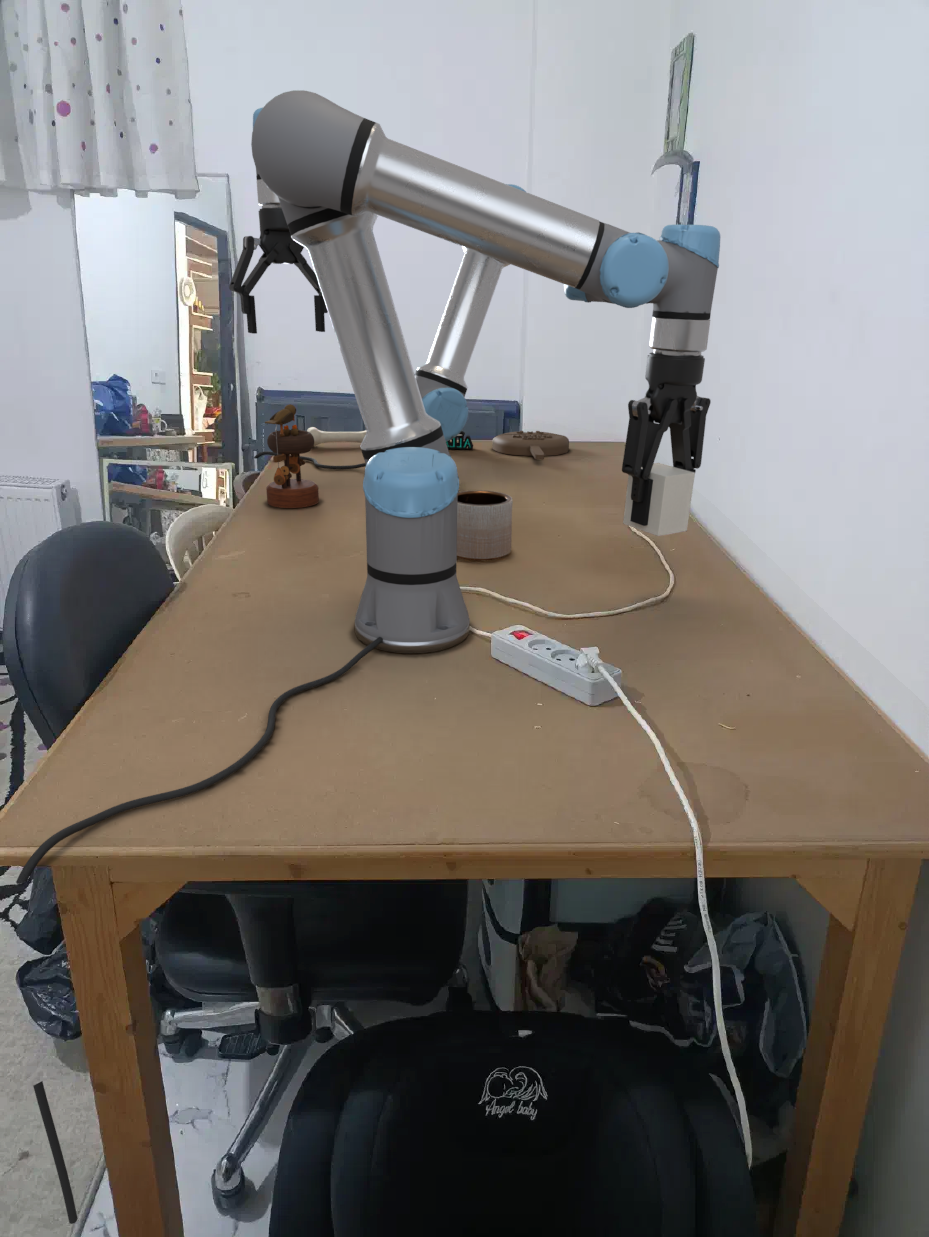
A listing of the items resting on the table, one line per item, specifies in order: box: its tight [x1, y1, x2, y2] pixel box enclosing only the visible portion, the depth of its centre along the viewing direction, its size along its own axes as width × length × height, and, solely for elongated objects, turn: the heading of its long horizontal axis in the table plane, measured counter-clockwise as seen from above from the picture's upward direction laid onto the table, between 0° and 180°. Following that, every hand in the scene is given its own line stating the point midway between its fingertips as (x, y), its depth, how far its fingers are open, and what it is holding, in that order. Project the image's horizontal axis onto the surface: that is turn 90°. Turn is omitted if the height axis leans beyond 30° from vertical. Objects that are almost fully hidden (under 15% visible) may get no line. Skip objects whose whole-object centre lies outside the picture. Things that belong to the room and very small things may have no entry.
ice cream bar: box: [491, 430, 570, 461], centre depth 224 cm, size 21×28×4 cm
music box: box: [264, 403, 320, 509], centre depth 172 cm, size 15×11×20 cm
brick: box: [622, 462, 696, 537], centre depth 120 cm, size 6×7×8 cm
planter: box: [457, 489, 513, 562], centre depth 143 cm, size 11×11×10 cm
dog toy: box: [306, 426, 366, 447], centre depth 230 cm, size 20×6×5 cm, turn 99°
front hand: (655, 520), depth 122 cm, fingers closed on brick, 6 cm apart
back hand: (287, 332), depth 160 cm, fingers open, 13 cm apart
